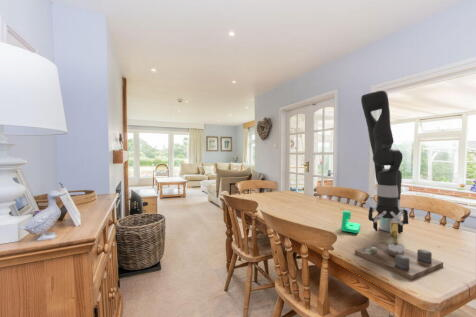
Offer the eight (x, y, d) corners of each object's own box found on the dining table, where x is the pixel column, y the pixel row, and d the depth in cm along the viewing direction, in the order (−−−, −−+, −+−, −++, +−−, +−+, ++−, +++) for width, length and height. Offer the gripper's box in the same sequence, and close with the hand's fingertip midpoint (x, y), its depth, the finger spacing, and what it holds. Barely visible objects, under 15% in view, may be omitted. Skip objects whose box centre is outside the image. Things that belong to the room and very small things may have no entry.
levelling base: (384, 244, 99) (384, 233, 99) (443, 266, 80) (443, 252, 80) (354, 253, 91) (354, 241, 91) (411, 280, 72) (411, 265, 72)
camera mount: (357, 235, 111) (357, 215, 110) (341, 232, 115) (341, 213, 115) (360, 228, 120) (360, 210, 120) (345, 225, 125) (345, 208, 125)
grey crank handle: (404, 259, 82) (404, 233, 82) (388, 255, 85) (388, 230, 84) (401, 245, 94) (401, 222, 93) (387, 243, 96) (387, 220, 96)
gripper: (405, 194, 94) (405, 230, 95) (367, 192, 101) (367, 226, 101) (410, 197, 88) (410, 237, 88) (369, 195, 94) (369, 232, 94)
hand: (387, 231), depth 95 cm, fingers open, 8 cm apart
